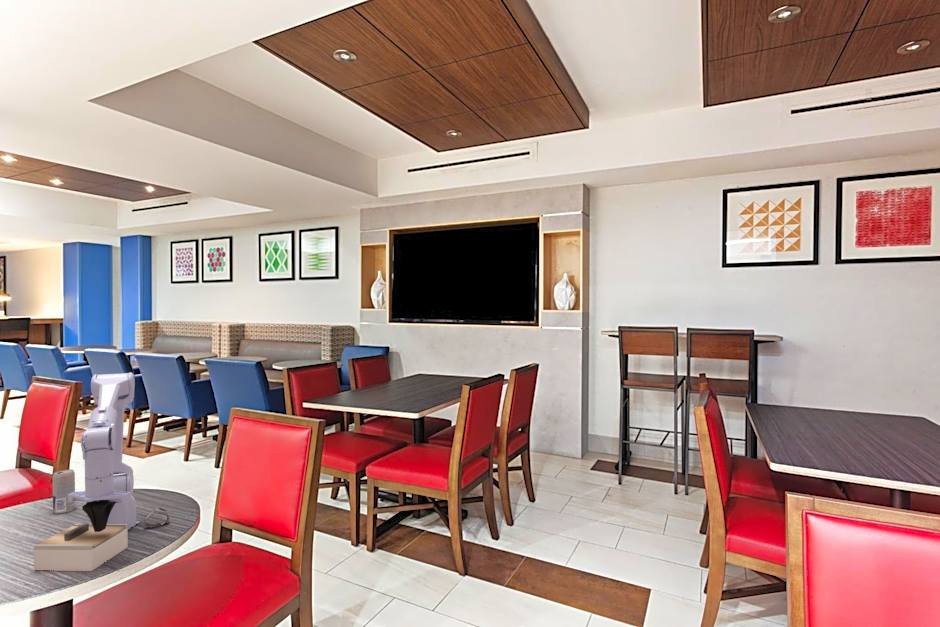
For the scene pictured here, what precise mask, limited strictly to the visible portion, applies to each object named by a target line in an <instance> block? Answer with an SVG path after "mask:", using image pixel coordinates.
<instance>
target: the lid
mask: <svg viewBox="0 0 940 627" xmlns="http://www.w3.org/2000/svg"><path fill="white" fill-rule="evenodd" d="M81 524H82V525H81V526H74V525H72V526H70V527H68V528H66V529H64V530H62V531H61V532H59V533H56V534H55V535H52V536H50V537H49V538H46V539H45V540H43V541H42V542H39V543H37V544H36V545H93V547H95V546H97V545H98V544H100V543H102V542H103V541H105V540H107V539H108V538H110V537H112V536H113V535H115V534H117V533H118V532H120V531H122V530H123V529H125V527H124V526H106V529H104V530H102V531H100V532H95V531H94V528H93V526H89V524H90V523H81Z"/></svg>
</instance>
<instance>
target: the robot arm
mask: <svg viewBox="0 0 940 627" xmlns="http://www.w3.org/2000/svg"><path fill="white" fill-rule="evenodd" d="M135 386H136V381H135V374H134V373H133V372H130V371H129V372H125V373H107V374H105V373H103V374H96V373H95V374H94V375H93V376H92V377H91V381H90V391H91V395H92V398H93V401H94V402H95V405H97V407H95V408H94V409H92V411H91V412H90V417H89V420H88V424H87V428H86V430H83V431H82V432H81V436H80V437H81V438H80V447H81V451H82V460H83V461H84V490H83V491H75V492H73V493H71V494H68V502H74V501H75V502H83V503H85V504H84V505H82V510H83V511H84V512H85V514H86V515H87V517H88V518H89V520H90V522H91V523H90V524H92V525H93V528H94V531H95V532H100V531H102V530H104V529H106V525H107V524H127V531H128V530H130V529H132V528H134V527H135V526H136V524H137V525H138V524H140V521H139V520H137V501H136V498H135V497H134V496H133V492H134V482H135V481H134V469H133V468H132V467H131V466H130V465H128V464H126V463H124V462H123V451H124V450H123V446H124V444H123V443H124V425H125V424H124V423H125V420H124V418H125V410H126V408H127V405H129V404H131V403H133V402H134V398H135ZM131 527H132V528H131Z"/></svg>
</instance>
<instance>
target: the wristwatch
mask: <svg viewBox="0 0 940 627" xmlns="http://www.w3.org/2000/svg"><path fill="white" fill-rule="evenodd" d="M155 513H158V514H162V515H166V519H165V521H164V522H165V523H167V524H168V523H169V520H170V514H169V513H168V510H166V509H165V508H164V509H163V508H161V507H156V508H153V510H151V512H150V513H149V514H148V515H146V516H145V517H144V518H143V519H144V520H143V524H144V525H145V526H146V527H148V528H152V527H154V528H157V527H156V526H159V527H161V526H160V525H161V524H160V523H161V522H156V523H147V520H148V519H149V518H150V517H152V515H154V514H155ZM165 523H164V524H165ZM165 525H166V524H165ZM152 529H153V528H152Z"/></svg>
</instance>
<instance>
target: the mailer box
mask: <svg viewBox="0 0 940 627" xmlns="http://www.w3.org/2000/svg"><path fill="white" fill-rule="evenodd" d="M82 524H83V523H74V524H73V526H81V525H82ZM88 524H89V526H93V525H92V523H88ZM106 526H124V527H125V529H123V530H122V531H120V532H118V533H117V534H115V535H113V536H112V537H110V538H108V539H107V540H105V541H103V542H102V543H100V544H98V545H97V546H95V547H93V545H37V544H34V545H33V568H34V569H33V571H34V570H50V571H49V572H61V571H62V572H93V571H94V570H95V569H97V568H99V567H101V566H102V565H103V564H105V563H107V562H108V561H110V560H111V559H113V557H115V556H117V555H118V554H120V553H122V552H123V551H124V550H126V549H127V548H129V546H128V545H129V542H128V541H129V539H128V538H129V537H128V535H129V534H128V530H127V524H107V525H106ZM107 560H108V561H107ZM104 562H105V563H104ZM51 570H52V571H51ZM53 570H54V571H53Z"/></svg>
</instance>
